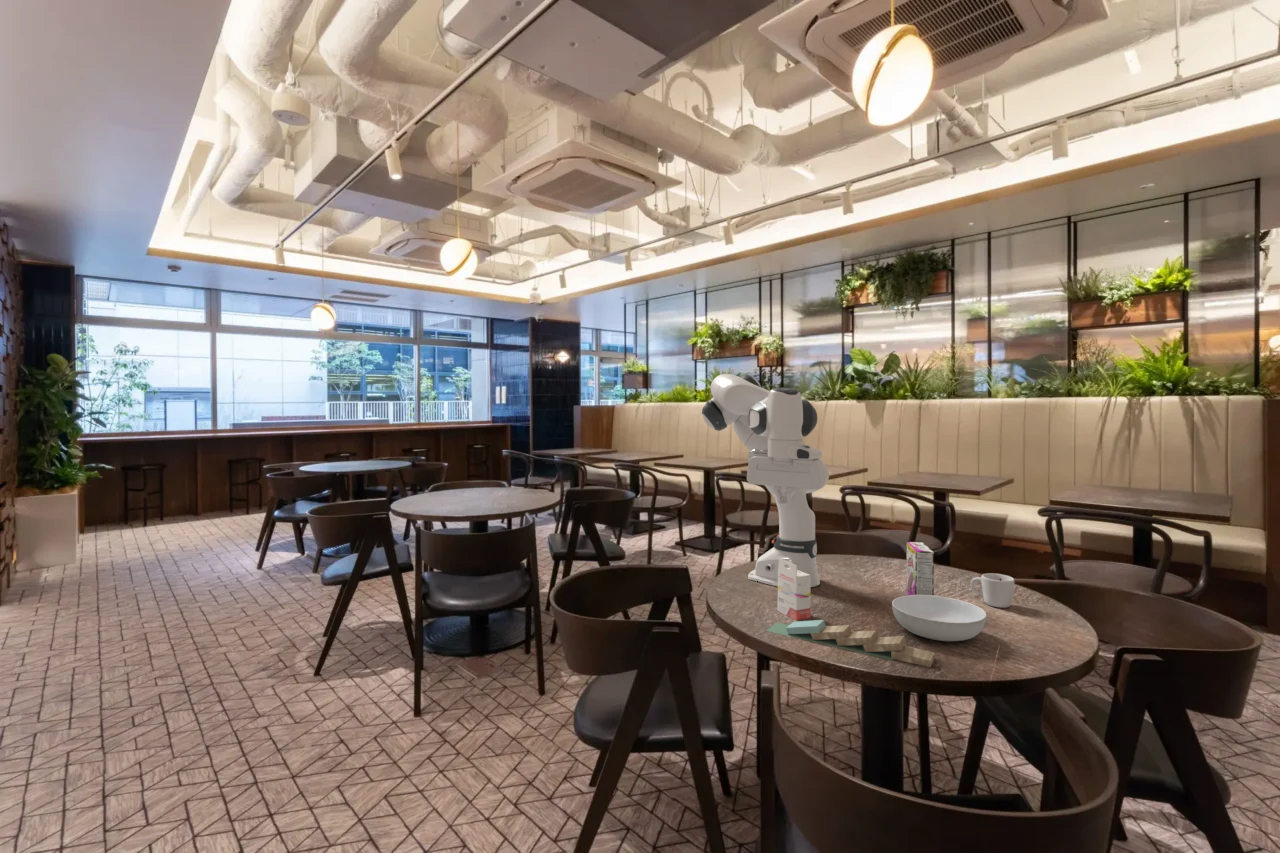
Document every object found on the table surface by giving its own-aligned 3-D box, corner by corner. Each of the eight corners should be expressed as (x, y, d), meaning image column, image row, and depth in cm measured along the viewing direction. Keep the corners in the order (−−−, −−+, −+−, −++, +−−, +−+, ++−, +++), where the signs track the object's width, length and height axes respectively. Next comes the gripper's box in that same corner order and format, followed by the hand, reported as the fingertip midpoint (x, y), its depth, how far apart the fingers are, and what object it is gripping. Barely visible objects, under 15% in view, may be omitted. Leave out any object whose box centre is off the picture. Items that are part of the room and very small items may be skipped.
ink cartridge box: (811, 618, 158) (812, 563, 157) (796, 621, 156) (796, 565, 155) (791, 608, 166) (791, 556, 165) (776, 610, 164) (776, 558, 163)
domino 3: (835, 638, 140) (870, 637, 135) (842, 632, 144) (875, 630, 139) (837, 645, 140) (872, 644, 135) (843, 638, 144) (877, 637, 139)
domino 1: (786, 627, 147) (817, 626, 142) (793, 621, 151) (823, 619, 146) (787, 634, 147) (819, 632, 142) (795, 628, 151) (825, 626, 146)
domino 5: (891, 650, 133) (930, 660, 128) (896, 643, 137) (934, 652, 132) (891, 657, 133) (930, 668, 128) (896, 650, 137) (934, 659, 132)
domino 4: (863, 644, 136) (899, 643, 132) (868, 637, 140) (904, 636, 136) (865, 652, 136) (901, 650, 131) (870, 644, 140) (905, 643, 136)
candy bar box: (905, 596, 175) (905, 541, 175) (923, 597, 174) (924, 542, 174) (914, 609, 164) (915, 550, 164) (934, 610, 163) (935, 551, 163)
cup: (966, 603, 169) (967, 575, 169) (974, 596, 175) (974, 569, 175) (1010, 612, 162) (1011, 583, 162) (1016, 604, 168) (1017, 576, 168)
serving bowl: (969, 622, 155) (970, 596, 155) (999, 655, 134) (1000, 625, 134) (884, 616, 159) (884, 591, 159) (900, 647, 139) (901, 618, 139)
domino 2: (810, 633, 143) (843, 631, 139) (817, 626, 147) (849, 624, 143) (812, 639, 143) (845, 638, 139) (819, 633, 147) (851, 631, 143)
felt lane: (765, 631, 149) (765, 630, 149) (776, 623, 155) (776, 622, 155) (893, 661, 132) (893, 660, 132) (900, 650, 137) (900, 649, 137)
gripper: (742, 449, 157) (742, 501, 157) (819, 453, 145) (819, 509, 145) (752, 448, 162) (752, 498, 162) (828, 451, 150) (827, 505, 150)
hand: (784, 503), depth 154 cm, fingers closed
